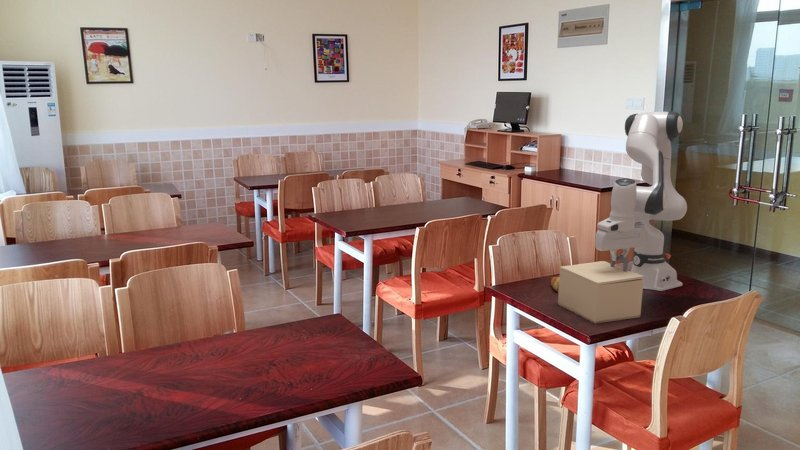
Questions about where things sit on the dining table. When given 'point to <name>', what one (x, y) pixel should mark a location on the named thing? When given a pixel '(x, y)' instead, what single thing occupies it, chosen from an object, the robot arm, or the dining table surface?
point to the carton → (600, 298)
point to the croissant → (555, 283)
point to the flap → (603, 271)
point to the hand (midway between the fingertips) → (618, 260)
